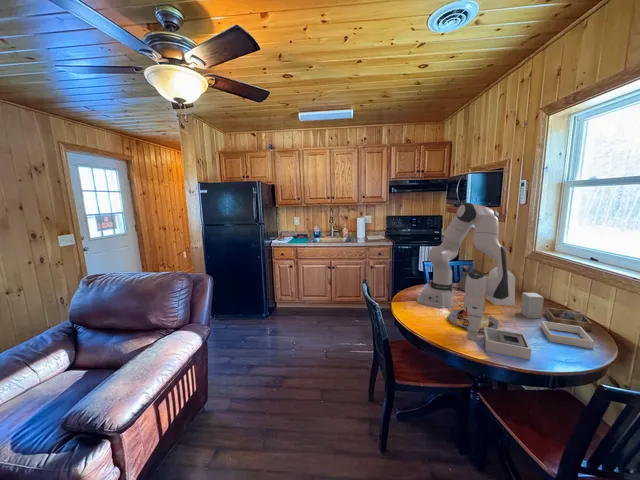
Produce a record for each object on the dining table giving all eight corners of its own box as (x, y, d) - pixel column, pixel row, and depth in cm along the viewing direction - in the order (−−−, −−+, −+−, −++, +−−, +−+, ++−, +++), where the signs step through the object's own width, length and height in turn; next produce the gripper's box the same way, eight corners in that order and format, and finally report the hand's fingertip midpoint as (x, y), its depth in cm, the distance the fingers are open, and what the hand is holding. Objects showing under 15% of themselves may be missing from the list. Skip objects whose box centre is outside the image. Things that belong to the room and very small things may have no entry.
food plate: (455, 309, 163) (455, 303, 162) (500, 319, 148) (500, 313, 147) (444, 325, 144) (444, 320, 143) (494, 339, 129) (495, 333, 128)
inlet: (499, 349, 118) (500, 341, 117) (497, 340, 126) (497, 332, 125) (524, 354, 114) (525, 346, 113) (520, 344, 122) (521, 336, 121)
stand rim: (552, 325, 139) (553, 318, 139) (544, 313, 153) (545, 307, 152) (591, 331, 132) (592, 323, 132) (579, 318, 145) (580, 311, 145)
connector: (467, 338, 129) (468, 323, 128) (467, 335, 132) (468, 320, 131) (477, 340, 127) (478, 325, 126) (476, 336, 130) (477, 321, 129)
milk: (514, 305, 165) (518, 265, 161) (494, 304, 167) (497, 265, 163) (504, 298, 177) (507, 260, 173) (486, 297, 179) (488, 260, 175)
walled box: (485, 350, 119) (486, 340, 118) (483, 336, 131) (484, 326, 130) (530, 360, 111) (531, 349, 110) (523, 343, 123) (524, 333, 123)
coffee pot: (457, 291, 193) (458, 271, 190) (457, 286, 203) (458, 267, 200) (492, 294, 184) (493, 274, 181) (489, 289, 194) (491, 269, 191)
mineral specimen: (564, 332, 141) (584, 328, 140) (571, 328, 135) (592, 323, 133) (552, 315, 147) (571, 310, 145) (558, 310, 140) (578, 306, 139)
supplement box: (542, 318, 147) (544, 297, 145) (527, 318, 148) (529, 296, 146) (534, 313, 154) (536, 292, 152) (520, 312, 155) (522, 292, 153)
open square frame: (549, 341, 125) (550, 334, 124) (540, 327, 138) (541, 320, 137) (593, 348, 118) (594, 341, 117) (579, 333, 131) (580, 326, 130)
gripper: (466, 297, 137) (464, 321, 140) (467, 312, 120) (465, 340, 122) (480, 298, 135) (478, 324, 137) (483, 315, 117) (481, 343, 119)
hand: (472, 332), depth 129 cm, fingers closed on connector, 4 cm apart
